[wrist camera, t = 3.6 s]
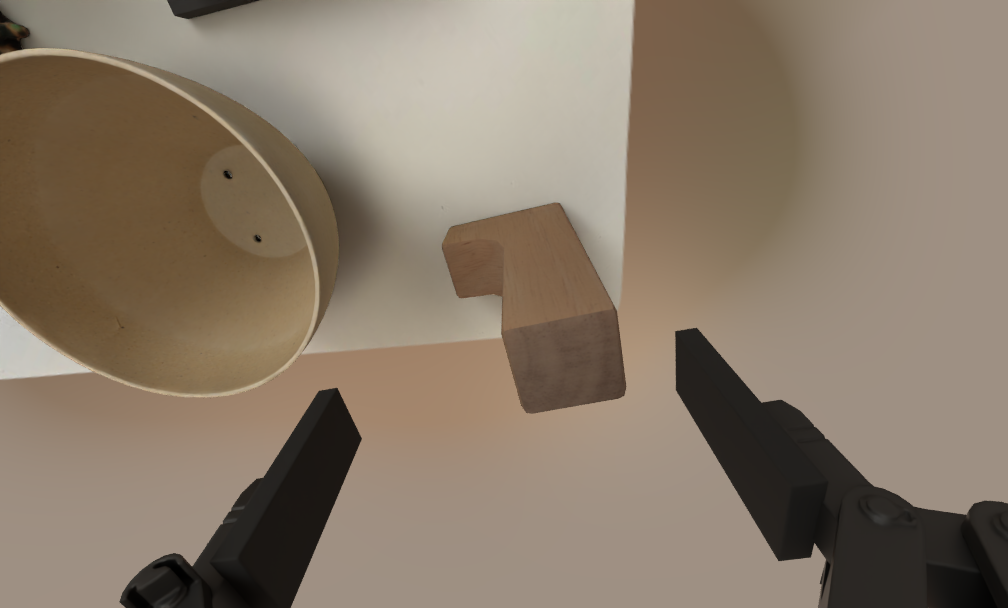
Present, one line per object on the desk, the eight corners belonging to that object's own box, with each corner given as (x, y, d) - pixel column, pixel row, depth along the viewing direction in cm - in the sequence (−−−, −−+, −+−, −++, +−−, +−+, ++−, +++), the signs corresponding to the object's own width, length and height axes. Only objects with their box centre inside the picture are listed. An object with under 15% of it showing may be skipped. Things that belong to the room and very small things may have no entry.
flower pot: (145, 268, 34) (-29, 348, 23) (135, 24, 26) (-132, -33, 15) (358, 333, 36) (295, 432, 25) (407, 129, 29) (346, 145, 18)
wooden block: (463, 277, 34) (423, 436, 18) (447, 226, 32) (386, 352, 16) (569, 254, 33) (629, 400, 17) (560, 200, 31) (618, 306, 15)
